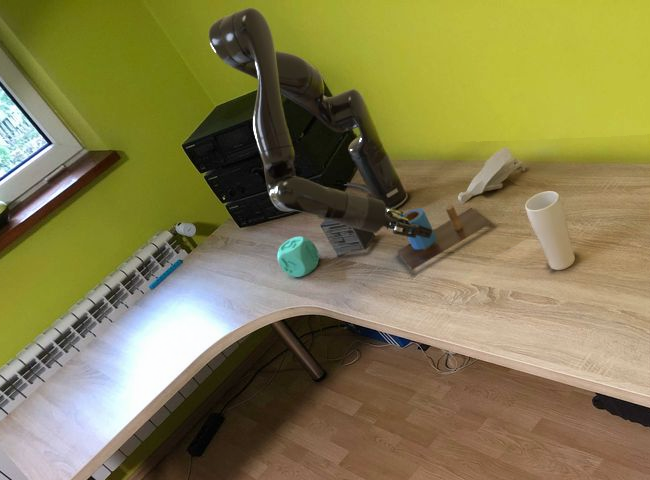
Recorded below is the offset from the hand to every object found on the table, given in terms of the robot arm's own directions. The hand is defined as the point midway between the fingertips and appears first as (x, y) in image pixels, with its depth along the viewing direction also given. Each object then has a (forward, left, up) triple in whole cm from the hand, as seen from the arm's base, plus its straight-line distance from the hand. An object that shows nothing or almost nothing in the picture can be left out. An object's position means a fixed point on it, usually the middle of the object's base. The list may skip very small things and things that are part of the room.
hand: (425, 228), depth 152 cm
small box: (-22, -15, -6) cm, 27 cm away
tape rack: (0, +3, -6) cm, 6 cm away
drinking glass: (+33, +17, -6) cm, 38 cm away
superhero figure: (-12, +23, -6) cm, 26 cm away
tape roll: (0, -2, -3) cm, 3 cm away
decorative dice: (-28, -30, -6) cm, 42 cm away
